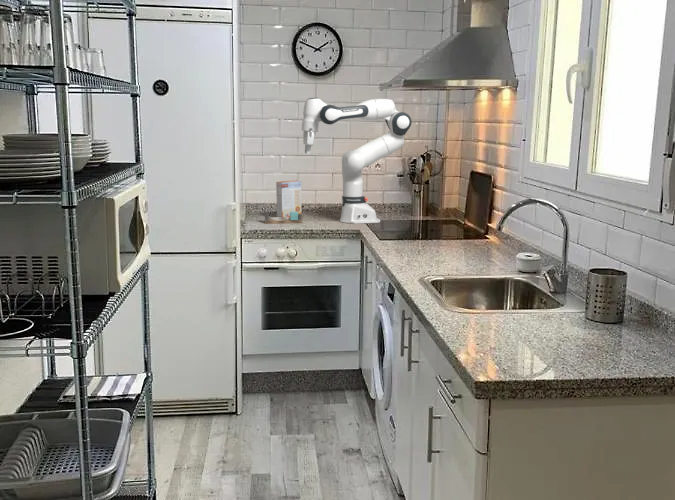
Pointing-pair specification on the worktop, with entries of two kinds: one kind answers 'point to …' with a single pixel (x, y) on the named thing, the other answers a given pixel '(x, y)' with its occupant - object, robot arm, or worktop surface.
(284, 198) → the cracker box
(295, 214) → the teal slider block
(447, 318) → the worktop surface
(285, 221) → the track
